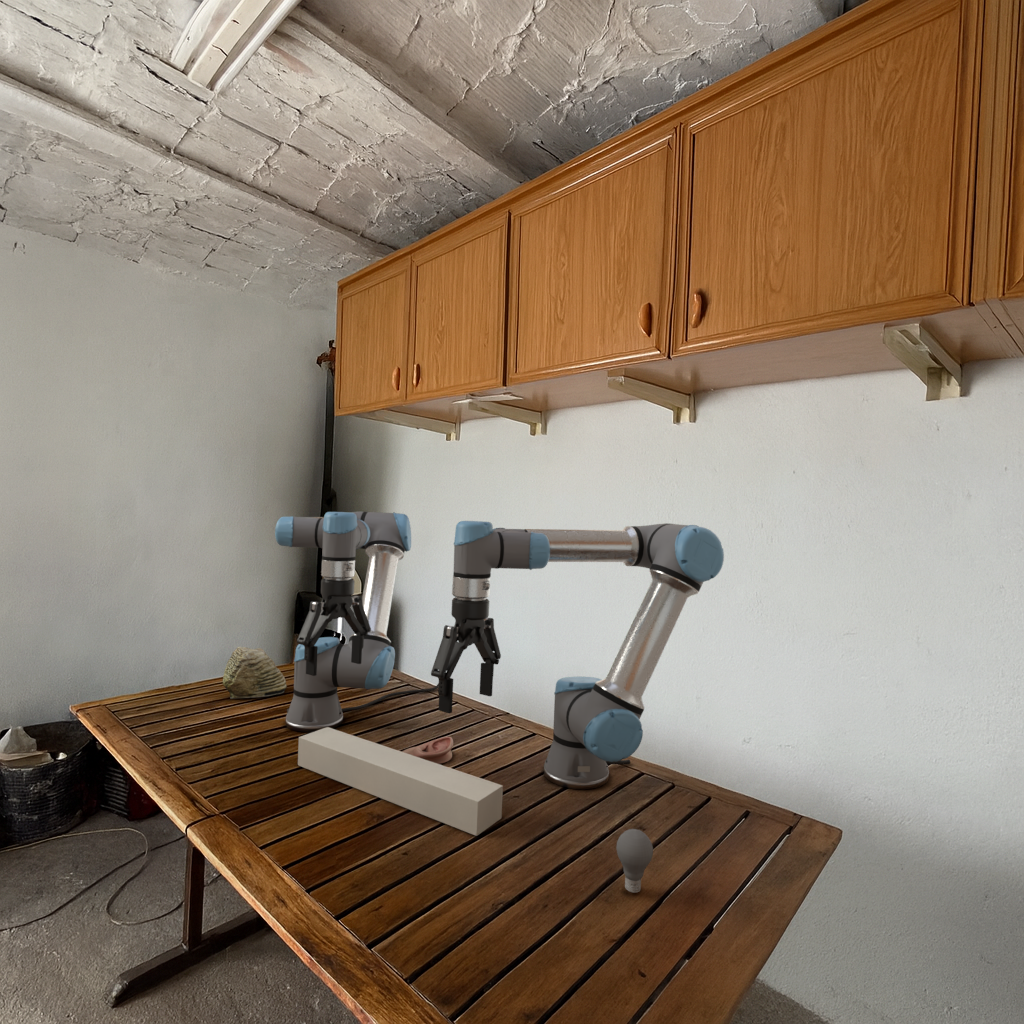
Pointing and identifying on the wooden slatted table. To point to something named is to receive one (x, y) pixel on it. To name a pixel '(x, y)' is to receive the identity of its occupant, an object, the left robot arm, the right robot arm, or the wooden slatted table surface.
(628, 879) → the light bulb
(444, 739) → the anatomical model
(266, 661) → the fossil
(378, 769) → the thick board
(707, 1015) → the wooden slatted table surface
